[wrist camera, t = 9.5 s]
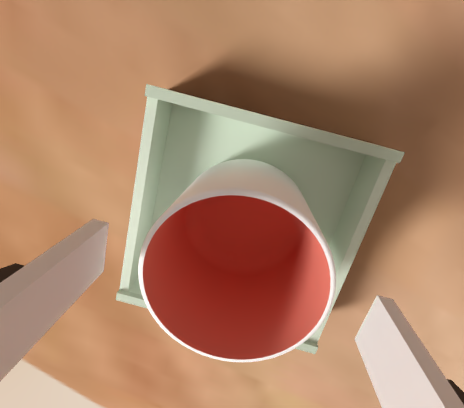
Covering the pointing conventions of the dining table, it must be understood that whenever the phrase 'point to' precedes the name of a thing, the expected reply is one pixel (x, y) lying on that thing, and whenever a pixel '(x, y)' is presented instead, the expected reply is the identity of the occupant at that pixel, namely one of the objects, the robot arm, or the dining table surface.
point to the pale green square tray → (261, 149)
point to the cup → (238, 265)
